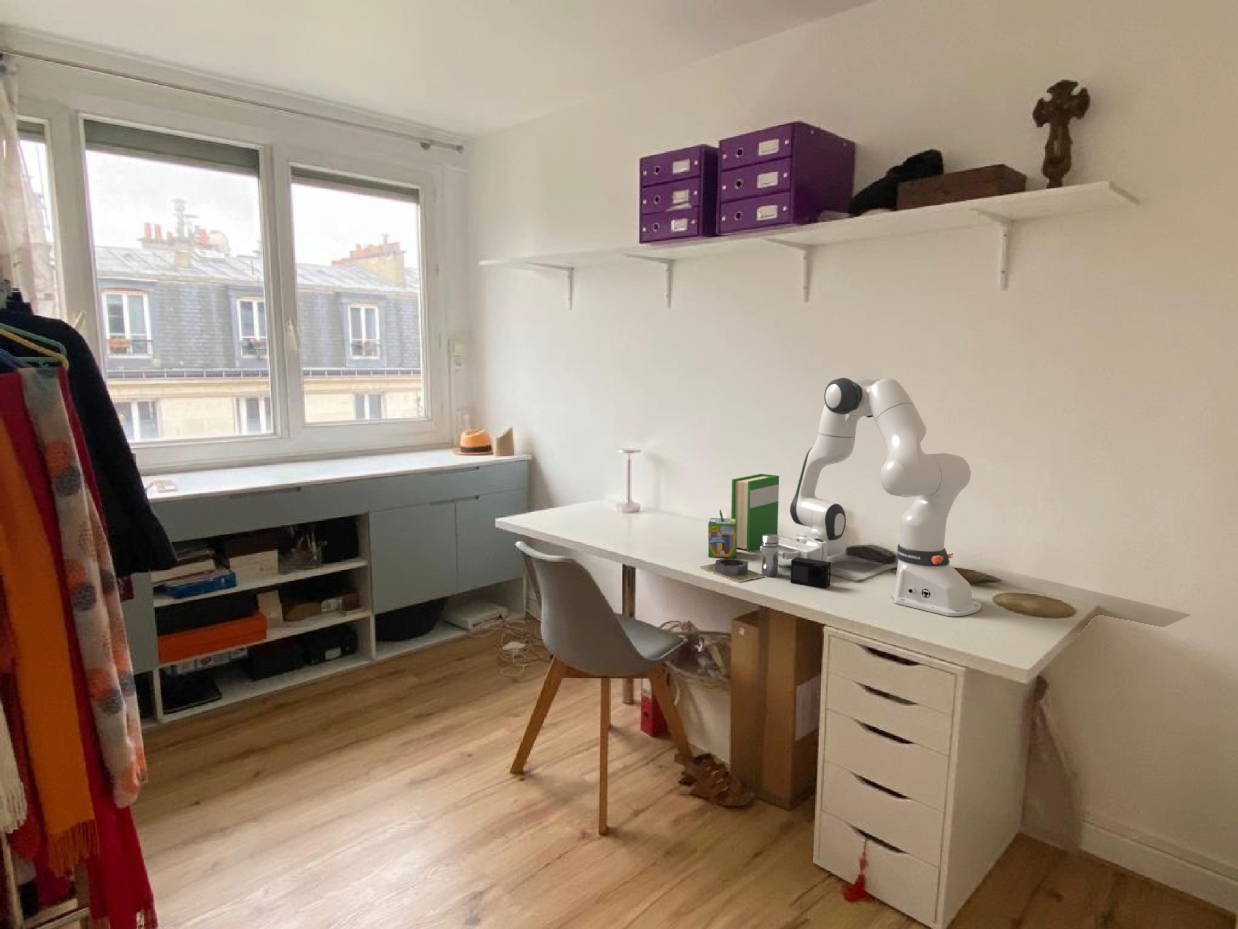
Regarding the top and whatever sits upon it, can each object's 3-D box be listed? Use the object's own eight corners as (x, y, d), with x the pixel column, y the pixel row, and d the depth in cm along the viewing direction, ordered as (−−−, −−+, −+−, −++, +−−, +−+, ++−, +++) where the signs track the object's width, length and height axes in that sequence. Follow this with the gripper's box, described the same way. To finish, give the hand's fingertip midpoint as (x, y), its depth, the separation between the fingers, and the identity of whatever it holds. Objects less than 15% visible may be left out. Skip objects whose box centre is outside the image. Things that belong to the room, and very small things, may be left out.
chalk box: (735, 558, 238) (736, 514, 236) (707, 557, 240) (708, 512, 238) (737, 551, 247) (738, 508, 245) (709, 550, 249) (710, 507, 247)
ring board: (764, 577, 217) (764, 567, 217) (739, 582, 212) (739, 572, 212) (724, 563, 232) (724, 554, 232) (699, 568, 227) (699, 558, 226)
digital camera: (788, 584, 211) (789, 560, 210) (795, 579, 215) (795, 556, 214) (824, 590, 205) (824, 566, 204) (830, 585, 209) (831, 561, 208)
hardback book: (748, 552, 246) (750, 481, 243) (730, 548, 251) (731, 479, 248) (777, 543, 259) (779, 475, 256) (759, 539, 264) (760, 473, 261)
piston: (781, 575, 219) (782, 536, 217) (769, 578, 216) (770, 538, 215) (769, 571, 223) (770, 533, 221) (757, 574, 220) (758, 535, 219)
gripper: (781, 530, 235) (749, 535, 228) (831, 543, 218) (798, 549, 211) (780, 549, 236) (748, 555, 229) (830, 563, 219) (797, 570, 211)
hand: (772, 552), depth 219 cm, fingers open, 8 cm apart
